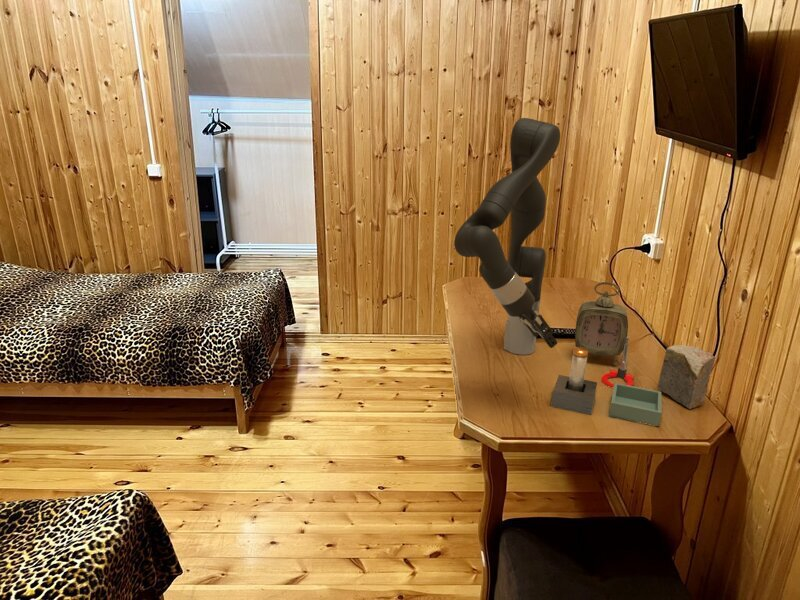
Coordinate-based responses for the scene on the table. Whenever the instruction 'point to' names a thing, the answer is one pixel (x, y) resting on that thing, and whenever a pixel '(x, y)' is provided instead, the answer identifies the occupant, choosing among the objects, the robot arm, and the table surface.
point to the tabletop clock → (602, 326)
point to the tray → (636, 404)
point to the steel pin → (578, 369)
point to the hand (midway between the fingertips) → (545, 339)
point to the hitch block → (574, 396)
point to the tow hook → (620, 370)
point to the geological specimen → (686, 374)
